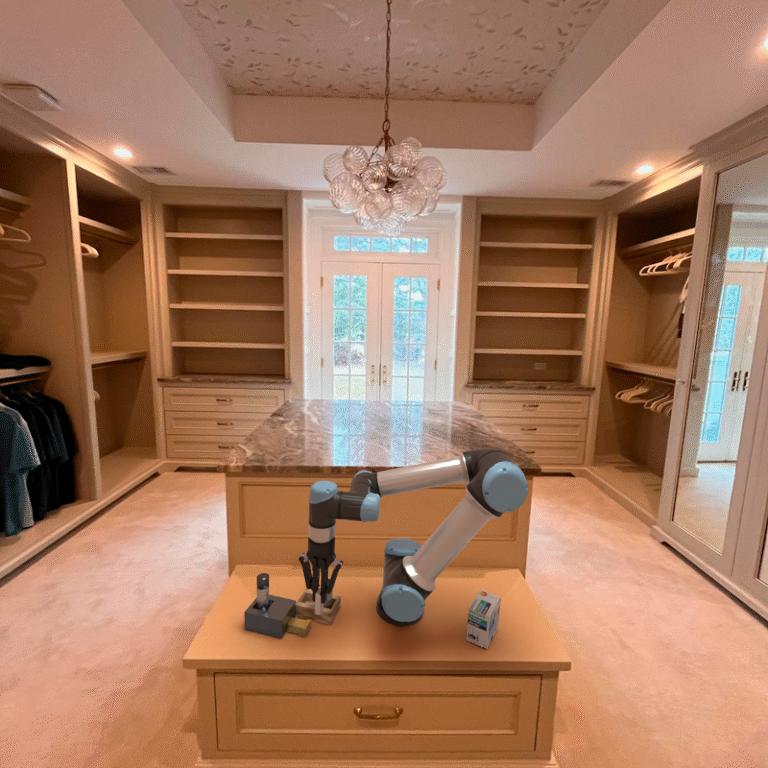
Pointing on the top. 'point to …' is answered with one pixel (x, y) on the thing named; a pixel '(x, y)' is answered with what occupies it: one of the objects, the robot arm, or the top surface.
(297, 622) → the yellow rectangular block
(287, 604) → the socket block
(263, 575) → the grey peg
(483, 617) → the light bulb box
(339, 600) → the rack
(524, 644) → the top surface
